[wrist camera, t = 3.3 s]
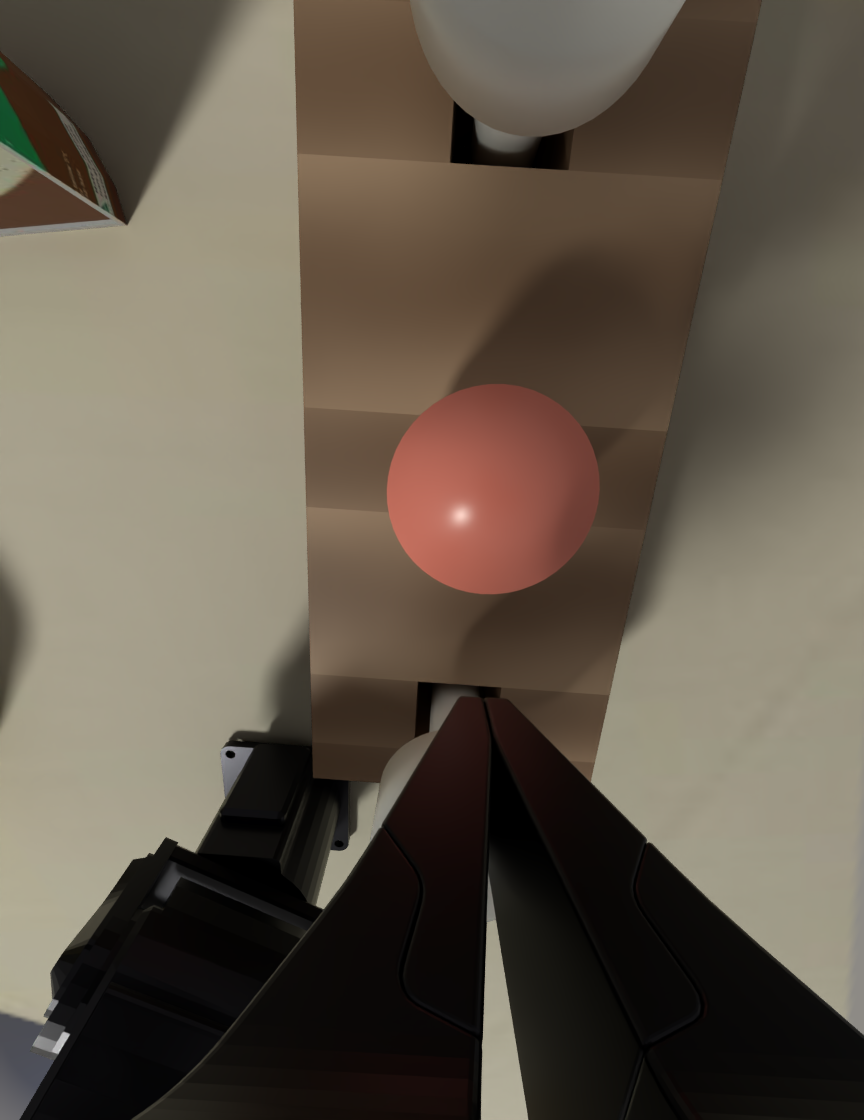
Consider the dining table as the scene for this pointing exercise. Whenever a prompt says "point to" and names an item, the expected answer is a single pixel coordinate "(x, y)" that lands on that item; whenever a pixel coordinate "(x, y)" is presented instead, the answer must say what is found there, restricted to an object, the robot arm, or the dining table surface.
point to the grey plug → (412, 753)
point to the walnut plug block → (487, 354)
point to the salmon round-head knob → (493, 489)
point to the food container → (47, 165)
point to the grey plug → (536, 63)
